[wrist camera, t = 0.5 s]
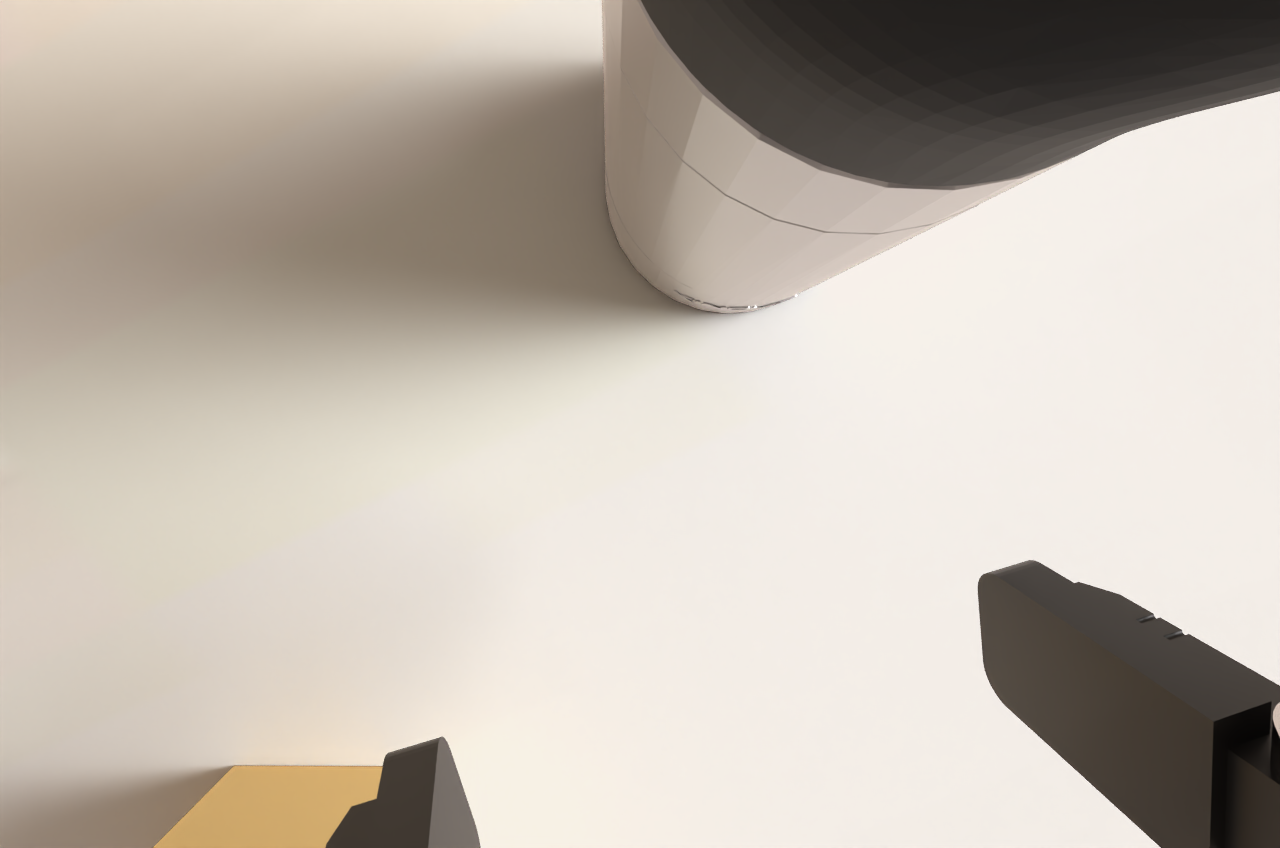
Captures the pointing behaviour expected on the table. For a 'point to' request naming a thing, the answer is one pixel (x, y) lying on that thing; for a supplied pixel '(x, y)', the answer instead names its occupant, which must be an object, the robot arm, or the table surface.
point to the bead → (274, 807)
